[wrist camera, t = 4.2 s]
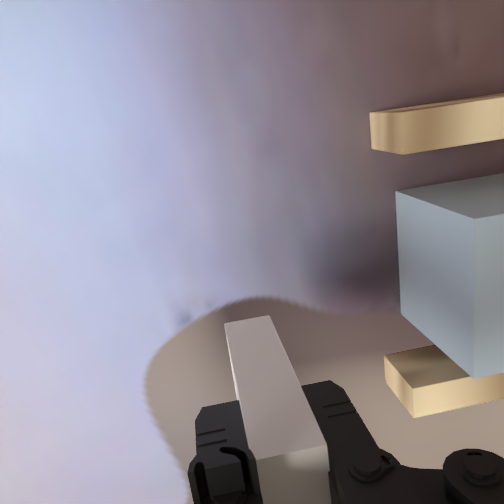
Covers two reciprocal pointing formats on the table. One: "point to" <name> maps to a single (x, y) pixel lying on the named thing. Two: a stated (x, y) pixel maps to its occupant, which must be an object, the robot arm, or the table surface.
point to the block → (455, 268)
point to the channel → (418, 140)
